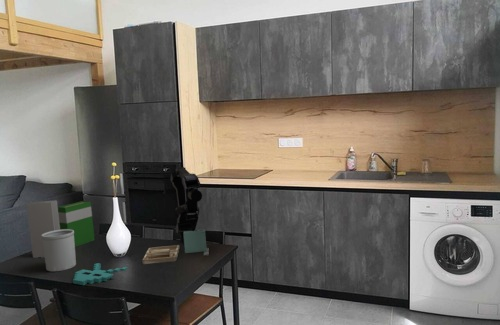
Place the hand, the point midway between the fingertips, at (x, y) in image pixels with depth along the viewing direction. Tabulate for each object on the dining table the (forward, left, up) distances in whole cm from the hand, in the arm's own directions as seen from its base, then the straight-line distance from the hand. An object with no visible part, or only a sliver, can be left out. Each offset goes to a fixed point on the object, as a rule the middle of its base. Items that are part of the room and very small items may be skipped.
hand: (194, 228), depth 217 cm
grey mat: (0, 0, -13) cm, 13 cm away
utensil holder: (+2, -67, -13) cm, 68 cm away
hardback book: (-40, -72, -13) cm, 83 cm away
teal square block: (0, 0, -12) cm, 12 cm away
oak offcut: (+9, -17, -12) cm, 22 cm away
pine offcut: (+9, -17, -9) cm, 21 cm away
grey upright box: (-20, -82, -13) cm, 85 cm away
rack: (+3, -17, -13) cm, 21 cm away
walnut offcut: (+9, -18, -10) cm, 22 cm away
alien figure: (+21, -45, -14) cm, 51 cm away
